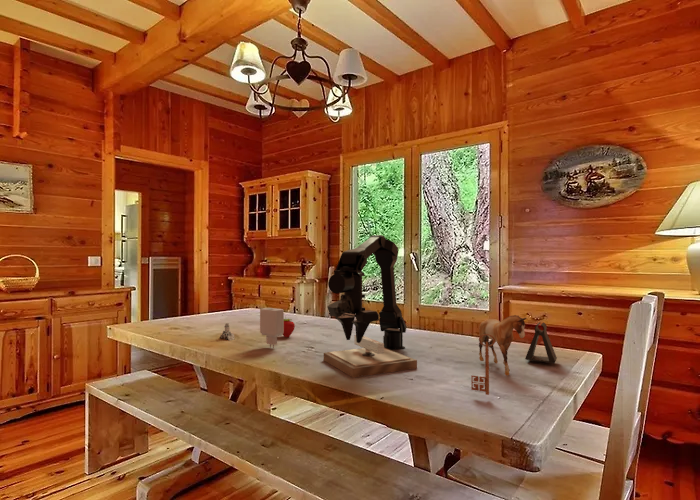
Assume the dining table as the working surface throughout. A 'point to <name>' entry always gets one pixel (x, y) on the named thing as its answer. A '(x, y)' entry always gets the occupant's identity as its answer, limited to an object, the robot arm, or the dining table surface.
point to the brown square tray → (369, 362)
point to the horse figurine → (501, 335)
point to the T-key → (370, 345)
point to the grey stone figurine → (227, 333)
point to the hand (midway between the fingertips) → (353, 341)
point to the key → (477, 386)
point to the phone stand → (547, 344)
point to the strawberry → (288, 327)
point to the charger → (271, 324)
